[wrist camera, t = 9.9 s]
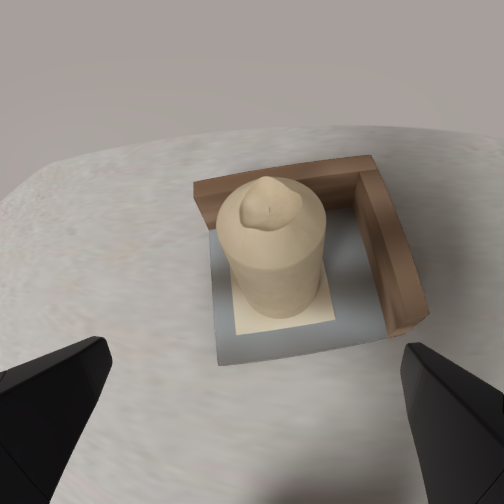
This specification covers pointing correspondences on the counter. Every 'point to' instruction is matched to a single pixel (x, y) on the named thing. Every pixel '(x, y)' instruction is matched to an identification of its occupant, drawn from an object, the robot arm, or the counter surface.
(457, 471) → the robot arm
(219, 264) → the frame
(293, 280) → the candle
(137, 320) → the counter surface
